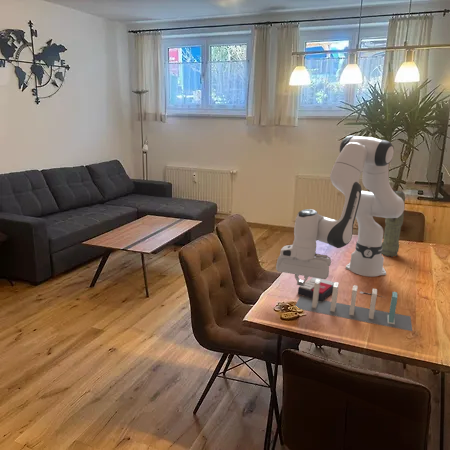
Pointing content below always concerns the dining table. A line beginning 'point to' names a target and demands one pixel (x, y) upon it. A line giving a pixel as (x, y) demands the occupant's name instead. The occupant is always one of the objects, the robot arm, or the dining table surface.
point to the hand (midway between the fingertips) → (300, 285)
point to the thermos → (392, 232)
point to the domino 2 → (334, 296)
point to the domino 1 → (316, 293)
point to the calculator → (324, 289)
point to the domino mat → (355, 313)
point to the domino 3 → (353, 300)
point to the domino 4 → (372, 303)
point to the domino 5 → (393, 307)
